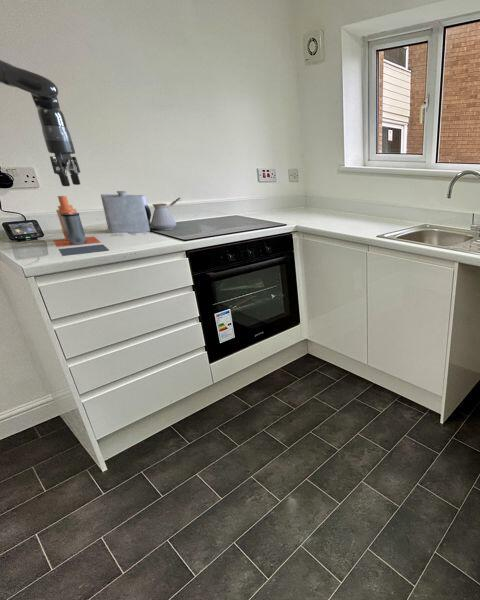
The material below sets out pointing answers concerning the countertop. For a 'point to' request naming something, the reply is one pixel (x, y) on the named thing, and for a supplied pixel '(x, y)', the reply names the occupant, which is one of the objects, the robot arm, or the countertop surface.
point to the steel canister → (73, 228)
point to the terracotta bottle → (64, 211)
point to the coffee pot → (163, 217)
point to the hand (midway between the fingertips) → (71, 185)
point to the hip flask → (125, 213)
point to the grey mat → (83, 250)
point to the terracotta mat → (66, 243)
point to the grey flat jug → (132, 195)
